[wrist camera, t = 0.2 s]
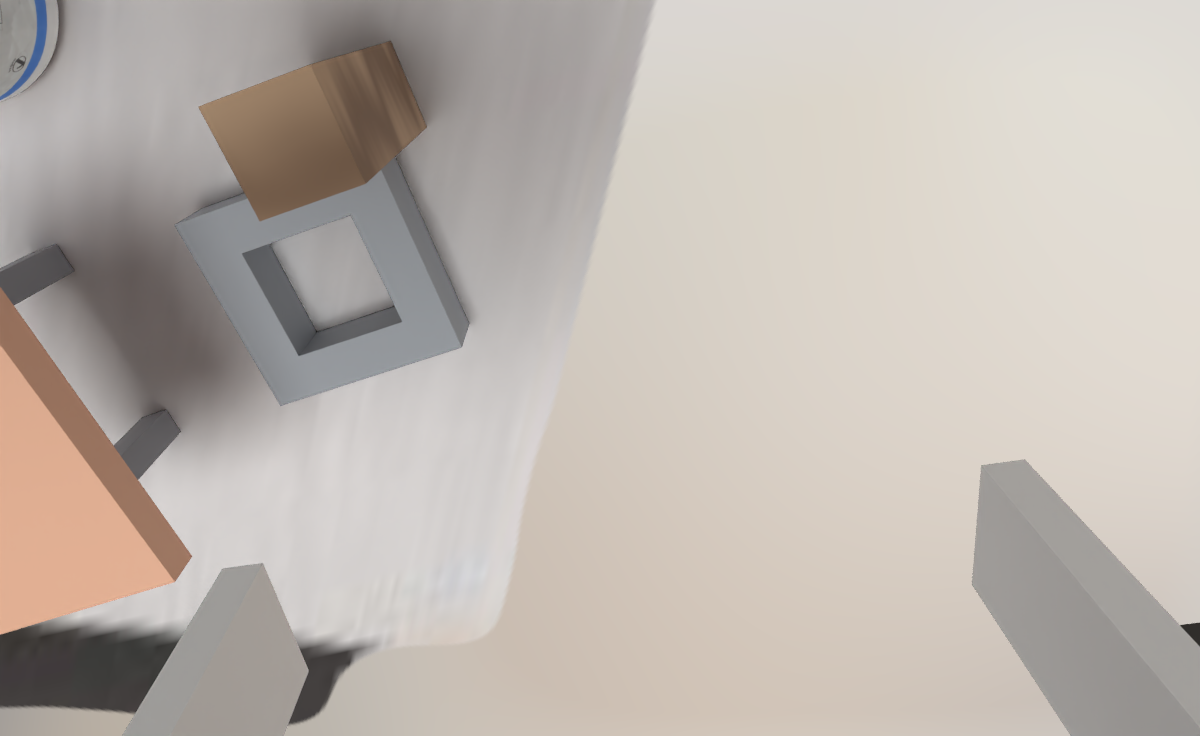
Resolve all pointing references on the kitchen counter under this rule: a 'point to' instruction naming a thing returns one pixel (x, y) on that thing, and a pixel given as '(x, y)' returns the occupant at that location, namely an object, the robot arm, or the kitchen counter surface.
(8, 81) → the supplement tub
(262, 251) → the socket block
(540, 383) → the kitchen counter surface
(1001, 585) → the robot arm
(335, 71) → the peg
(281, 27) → the kitchen counter surface
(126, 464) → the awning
